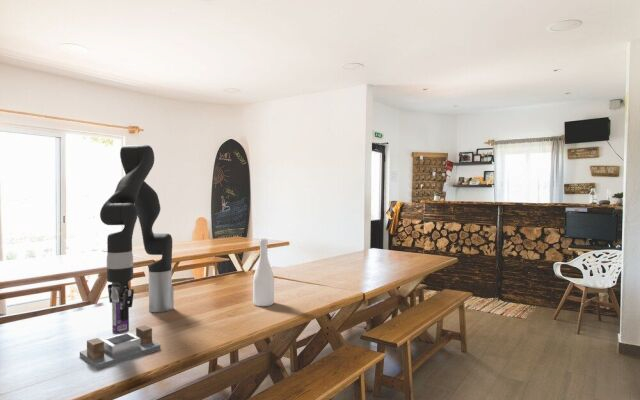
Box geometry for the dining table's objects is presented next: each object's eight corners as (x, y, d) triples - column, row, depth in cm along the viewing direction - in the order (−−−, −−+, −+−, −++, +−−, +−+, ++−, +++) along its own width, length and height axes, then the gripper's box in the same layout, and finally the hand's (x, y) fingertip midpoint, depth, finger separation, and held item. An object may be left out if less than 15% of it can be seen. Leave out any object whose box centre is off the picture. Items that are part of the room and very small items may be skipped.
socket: (128, 340, 130) (128, 332, 130) (140, 347, 125) (140, 338, 124) (101, 348, 123) (100, 339, 123) (112, 356, 118) (112, 346, 118)
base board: (140, 338, 136) (140, 334, 136) (160, 349, 127) (160, 344, 127) (79, 356, 121) (79, 351, 121) (97, 369, 112) (97, 364, 112)
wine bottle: (249, 305, 176) (248, 239, 176) (261, 299, 185) (261, 237, 184) (266, 308, 172) (265, 240, 171) (278, 302, 180) (278, 238, 180)
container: (131, 329, 126) (131, 283, 126) (124, 334, 122) (124, 287, 121) (116, 329, 126) (116, 283, 126) (109, 334, 122) (109, 287, 121)
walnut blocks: (145, 338, 132) (144, 325, 132) (152, 341, 129) (152, 328, 129) (86, 355, 119) (86, 340, 119) (93, 359, 115) (93, 344, 115)
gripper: (142, 266, 122) (142, 320, 122) (122, 261, 131) (123, 311, 131) (117, 270, 116) (118, 326, 116) (98, 264, 125) (99, 316, 126)
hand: (120, 318), depth 124 cm, fingers closed on container, 4 cm apart
